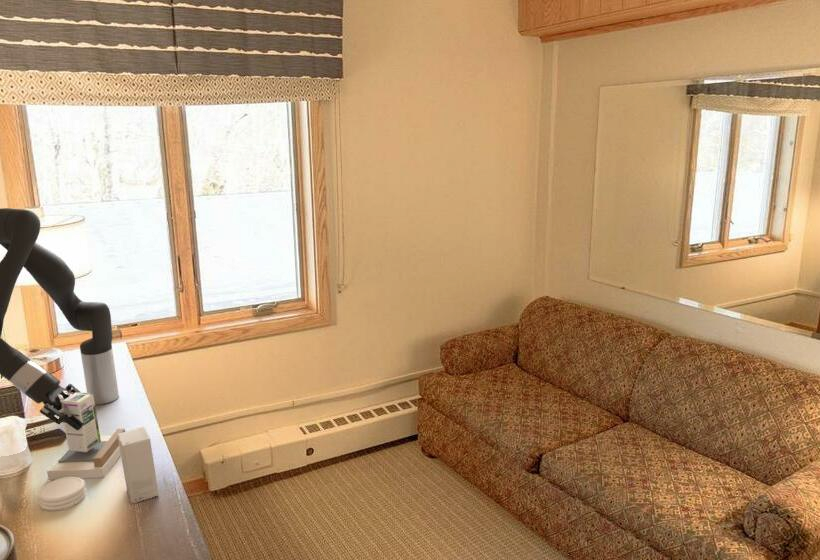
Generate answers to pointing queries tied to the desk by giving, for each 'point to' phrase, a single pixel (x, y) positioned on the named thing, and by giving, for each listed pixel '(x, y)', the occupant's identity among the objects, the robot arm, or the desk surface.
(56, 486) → the coaster
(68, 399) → the syrup box
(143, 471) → the skincare box
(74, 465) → the display plinth
